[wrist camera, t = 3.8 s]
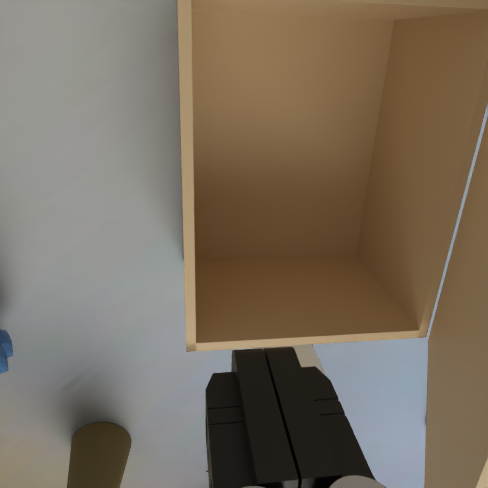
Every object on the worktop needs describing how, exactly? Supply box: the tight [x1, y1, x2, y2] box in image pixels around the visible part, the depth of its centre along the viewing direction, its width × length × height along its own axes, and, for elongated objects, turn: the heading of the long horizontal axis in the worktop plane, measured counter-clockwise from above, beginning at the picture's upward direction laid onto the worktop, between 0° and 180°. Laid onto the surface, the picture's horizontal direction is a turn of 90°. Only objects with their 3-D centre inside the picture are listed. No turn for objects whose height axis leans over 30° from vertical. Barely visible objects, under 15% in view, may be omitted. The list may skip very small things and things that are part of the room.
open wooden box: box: [177, 0, 488, 352], centre depth 29 cm, size 16×20×12 cm
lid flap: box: [424, 117, 488, 488], centre depth 17 cm, size 17×20×1 cm
